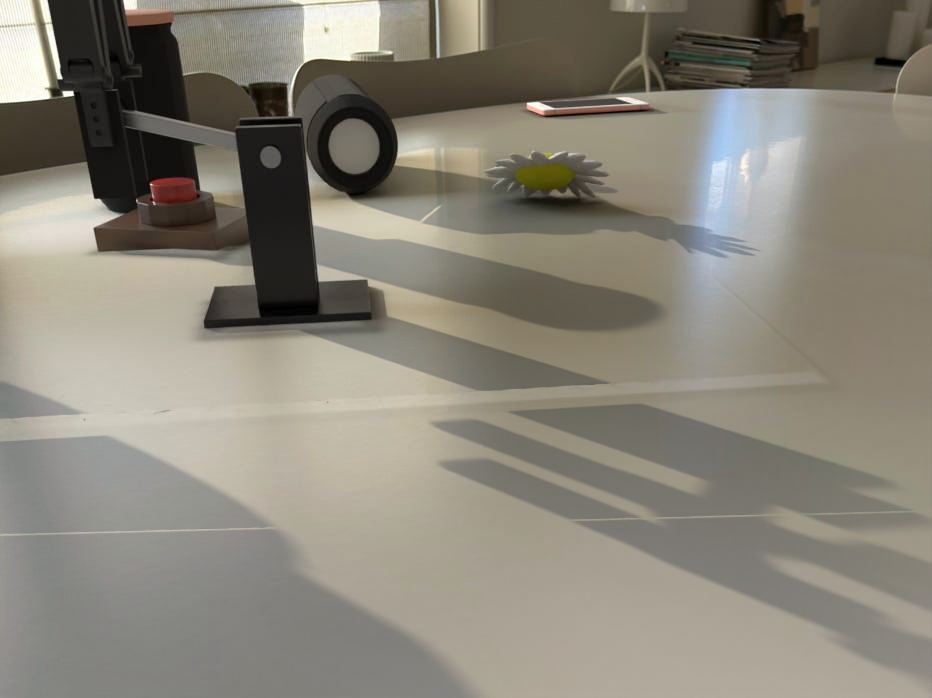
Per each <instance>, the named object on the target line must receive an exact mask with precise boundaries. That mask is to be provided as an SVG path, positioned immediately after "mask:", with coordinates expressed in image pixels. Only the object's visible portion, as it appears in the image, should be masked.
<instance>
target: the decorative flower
mask: <svg viewBox="0 0 932 698" xmlns="http://www.w3.org/2000/svg"><path fill="white" fill-rule="evenodd" d="M509 157H510V158H503V159H501V158H499V159H497V160H495V164H496V165H495V166H494V167H491V168H487V169H486V170H484V173H485V176H487V177H488V178H493V179H499V180H498V181H497V182H496V183H494V184H493V185H492V187H491V190H499V189H501V188H504V187H506V186H509V187H508V188H507V190H506V193H507V194H510V193H513V192H515V191H516V190H518V189H519V188H521V187H522V190H521V195H522V196H523V197H524V198H526V197H530V196H531V195H532V194H534V193H535V192H536V191H540V193H541V195H542V196H545V197H546V196H549V195H550V194H551V193H552V191H555V190H557V191H558V192H559V193H560V194H565V193H567V191H568V189H569V191H570V192H571V193H572V194H573V195H574V196H575V197H576V198H578V199H581V198H582V193H583V194H585V195H587V196H588V197H590V198H593V199H596V193H595V192H594V190H593V189H592V187H591V186H590V185H589V184H592V185H598V186H604V185H605V182H604V181H602V180H601V179H599V178H607V177H608V176H610V174H609V173H608V172H607V171H605V170H602V169H600V168H601V167H602V166H603V164H604V163H603V162H601V161H598V160H593V159H589V160H588V159H586V158H587V156H586V154H584V153H580V152H572V153H571V152H570V153H569V152H568V151H560V152H556V153H550V152H541V151H539V150H532V152H531V153H530V155H528V156H527V155H525V154H523V153H518V152H513V153H510V155H509Z"/></svg>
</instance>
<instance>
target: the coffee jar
mask: <svg viewBox="0 0 932 698" xmlns="http://www.w3.org/2000/svg"><path fill="white" fill-rule="evenodd" d="M125 13H126V19H127V25H128V31H129V37H130V43H131V49H132V51H133V53H134V62H133V64H141V68H142V77H125V79H132V83H133V89H134V95H135V101H136V107H137V111H138V112H143V113H147V114H152V115H156V116H161V117H165V118H170V119H174V120H179V121H184V122H188V123H191V118H190V113H189V106H188V99H187V92H186V86H185V79H184V73H183V66H182V60H181V53H180V47H179V42H178V39H177V37H176V36H175V35H174V33H173V32H172V26H173V22H175V19H174V18H175V17H174V11H173V10H171V9H163V8H162V9H161V8H159V9H158V8H134V9H132V8H131V9H125ZM140 131H141V130H140ZM141 137H142V143H143V149H144V155H145V161H146V167H147V173H148V179H149V180H148V181H147V182H134V183H135V189H136V195H137V196H136V197H135V198H115V199H99V200H100V201H101V203H102V204H103V205H104V206H105V207H106V209H107V210H108V211H110V212H112V213H118V214H123V215H124V214H126V213H128V212H131V211H133V210H135V209H138V206H137V200H136V199H137V198H139V197H141V196H144V195H146V194H151V193H152V192H151V187H150V183H151V182H152V181H155V180H159V179H165V178H190V179H193V180H194V181H195V187H196V190H201V184H200V178H199V171H198V164H197V157H196V151H195V146H194V145H195V144H194V142H192V141H187V140H183V139H178V138H173V137H169V136H164V135H160V134H155V133H150V132H146V131H141Z"/></svg>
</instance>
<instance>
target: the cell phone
mask: <svg viewBox="0 0 932 698" xmlns="http://www.w3.org/2000/svg"><path fill="white" fill-rule="evenodd" d="M649 109H650V103H649V102H647V101H642V100H639V99H636V98H633V97H629V96H623V97H604V98H603V97H602V98H601V97H600V98H587V99H566V100H552V101H551V100H550V101H548V100H547V101H533V102H527V103H526V110H528V111H531V112H533V113H536V114H539V115H540V116H557V115H558V116H559V115H561V116H562V115H576V114H591V113H592V114H593V113H608V112H609V113H611V112H625V111H627V112H629V111H640V110H641V111H645V110H649Z"/></svg>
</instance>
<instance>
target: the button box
mask: <svg viewBox="0 0 932 698" xmlns="http://www.w3.org/2000/svg"><path fill="white" fill-rule="evenodd" d="M196 194H197V199H195V200H189V201H184V202H172V203H163V202H153V198H152V193H151V194H146V195H144V196H141V197H139V198H137V199H136V200H137V206H138V209H135V210H133V211H131V212H128V213H126V214H124V213H123V214H121V215H119V216H116V217H115V218H113V219H110V220H108V221H106V222H103V223H101V224H99V225H96V226H94V227H92V228H93V229H92V230H93V234H94V239H95V243H96V249H97V252H98V253H108V252H110V253H111V252H130V251H131V252H132V251H151V250H192V251H194V250H195V251H216V252H217V251H219V250H220V249H222V248H224V247H238V246H240V245H241V244H244V243H245V242H247V241H249V234H248V226H247V219H246V211H245V207H225V206H224V207H223V206H221V207H220V206H216V204H215V198H214V195H213V193H212V192H210V191H205V190H201V189H200V190H196Z"/></svg>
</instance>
